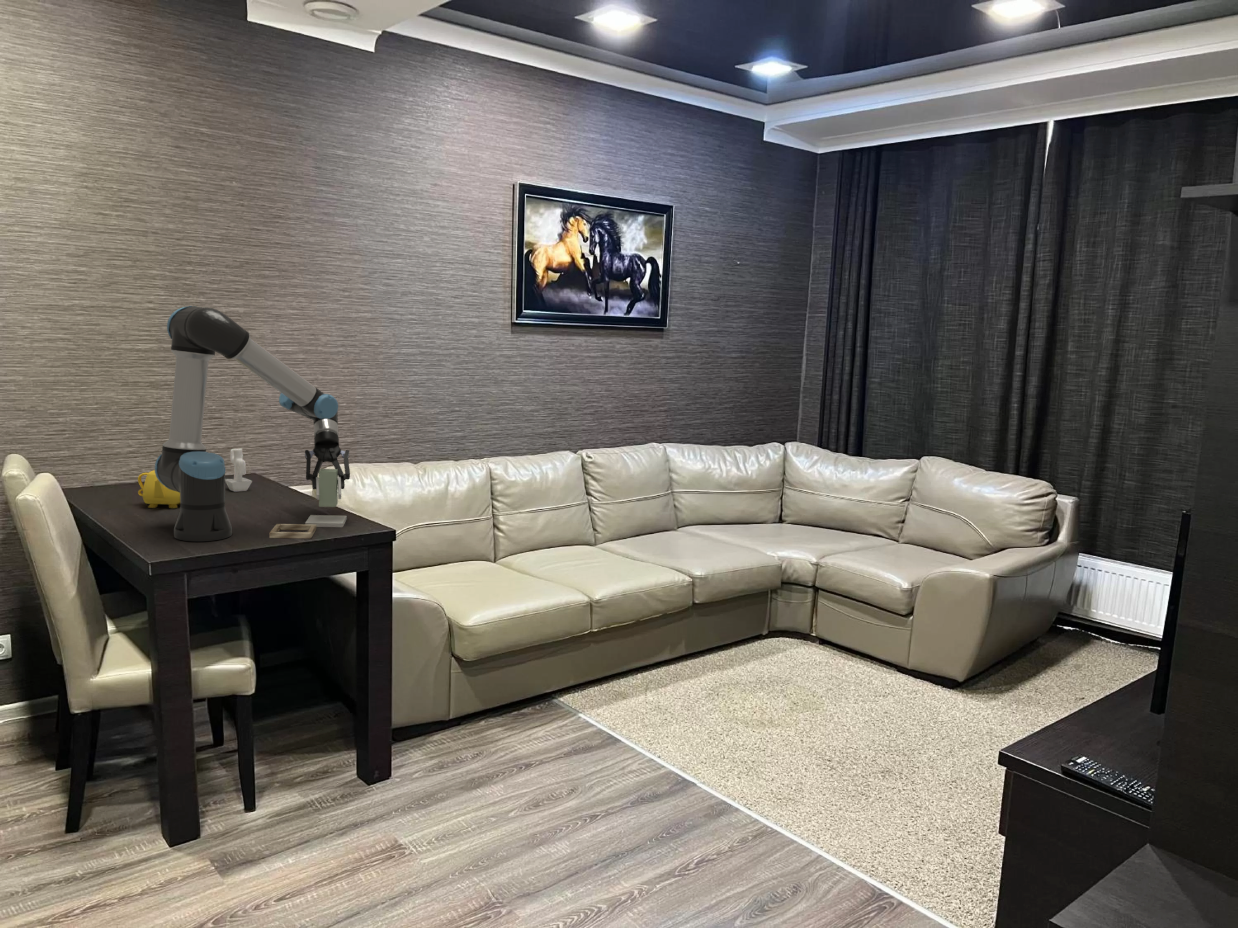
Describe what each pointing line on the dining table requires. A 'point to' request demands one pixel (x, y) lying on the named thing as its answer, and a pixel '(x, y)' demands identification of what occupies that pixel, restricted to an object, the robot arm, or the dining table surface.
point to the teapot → (157, 492)
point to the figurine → (238, 472)
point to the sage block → (328, 487)
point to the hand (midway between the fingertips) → (329, 496)
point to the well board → (278, 527)
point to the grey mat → (326, 520)
